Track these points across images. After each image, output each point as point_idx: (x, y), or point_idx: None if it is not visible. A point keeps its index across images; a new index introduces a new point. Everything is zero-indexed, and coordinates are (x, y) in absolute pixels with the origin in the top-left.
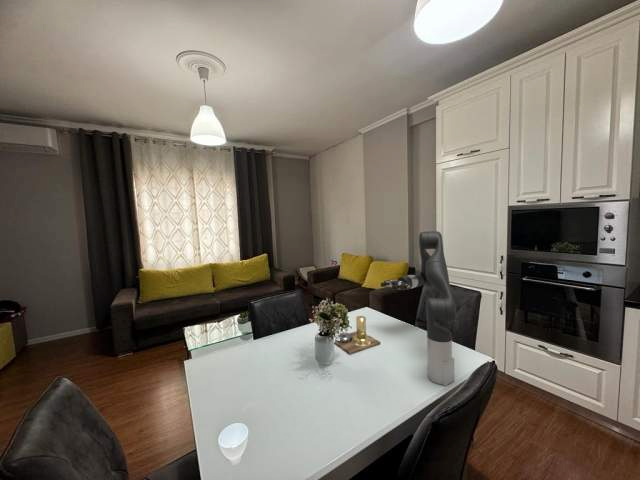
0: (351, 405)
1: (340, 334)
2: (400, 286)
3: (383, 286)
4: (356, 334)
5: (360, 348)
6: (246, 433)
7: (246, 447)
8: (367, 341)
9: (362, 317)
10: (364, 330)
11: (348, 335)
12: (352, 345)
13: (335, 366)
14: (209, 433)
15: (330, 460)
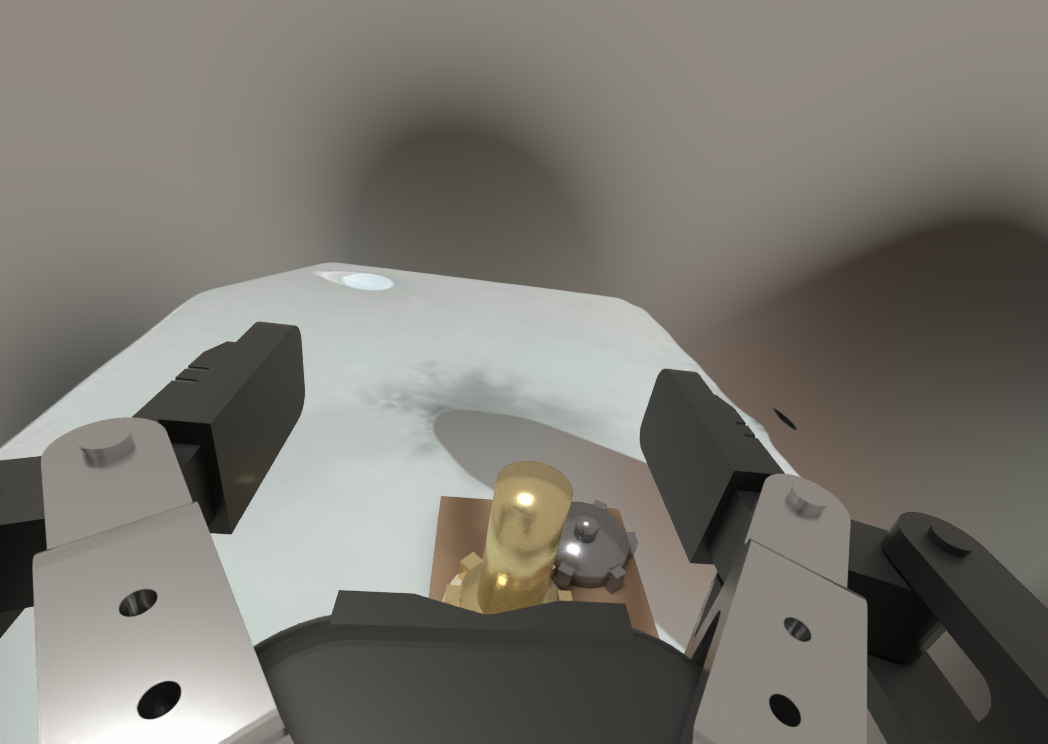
0: None
1: (614, 533)
2: (36, 466)
3: (656, 474)
4: (569, 600)
5: (437, 554)
6: (354, 286)
7: (328, 280)
8: (445, 597)
9: (528, 493)
10: (484, 553)
11: (581, 557)
12: None
13: (410, 433)
14: (397, 274)
15: (181, 307)
